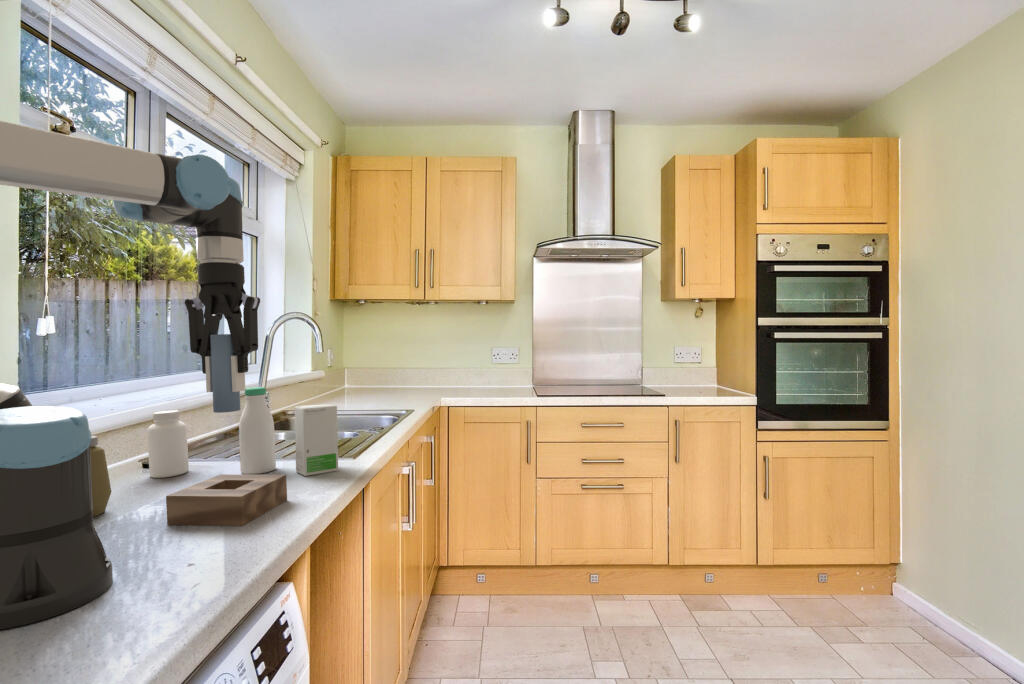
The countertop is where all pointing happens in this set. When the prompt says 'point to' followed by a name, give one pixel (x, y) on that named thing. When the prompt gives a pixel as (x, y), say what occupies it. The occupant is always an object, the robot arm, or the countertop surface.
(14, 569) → the robot arm
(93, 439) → the squeeze bottle
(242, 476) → the socket block
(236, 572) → the countertop surface
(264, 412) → the milk bottle
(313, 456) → the skincare box
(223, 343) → the peg
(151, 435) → the pill bottle
